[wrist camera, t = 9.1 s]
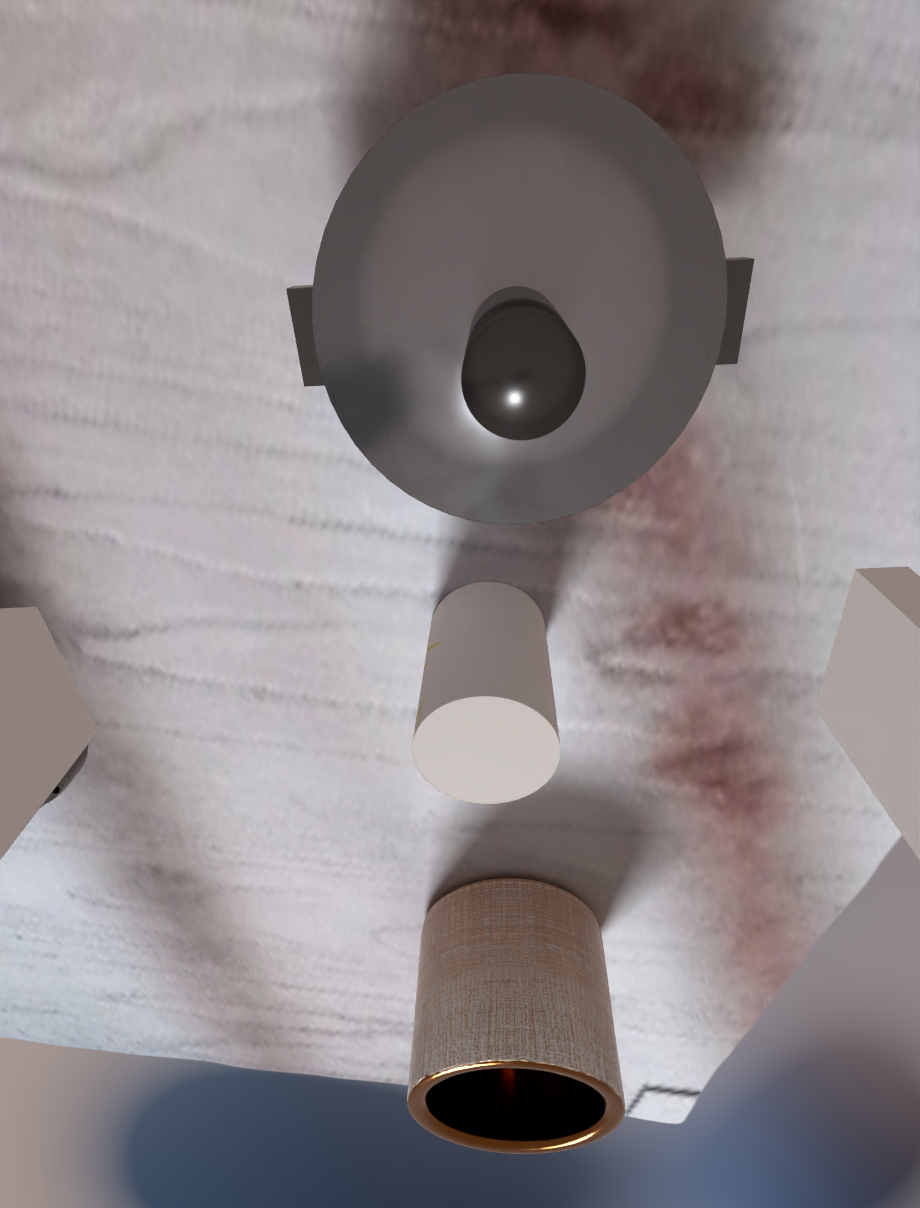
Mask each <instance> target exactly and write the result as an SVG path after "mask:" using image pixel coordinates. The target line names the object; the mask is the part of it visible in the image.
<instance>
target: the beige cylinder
mask: <svg viewBox="0 0 920 1208" xmlns="http://www.w3.org/2000/svg"><path fill="white" fill-rule="evenodd" d="M412 753H413V759H414V762H415V765H416V767H417V769H418V771H419V772H420V774H421V775H422V776H423V778H424V779H425V780H426V781H427V782H428V783H429V784H430V785H432V786H433V787H434V788H436V789H437V790H439V791H440V792H442V793H444V794H446V795H448V796H450V797H453V798H455V799H458V800H462V801H466V802H471V803H478V804H498V803H505V802H510V801H514V800H518V799H520V798H523V797H526V796H528V795H530V794H532V793H533V792H535V791H537V790H538V789H540V788H541V787H542V786H543V785H544V784H546V783H547V782H548V780H549V779H550V778H551V777H552V776H553V774H554V772H555V771H556V769H557V766H558V764H559V760H560V741H559V733H558V726H557V718H556V710H555V702H554V694H553V686H552V678H551V670H550V662H549V654H548V646H547V638H546V630H545V623H544V618H543V615H542V613H541V611H540V609H539V607H538V606H537V604H536V603H535V602H534V601H533V599H532V598H531V597H529V596H528V595H527V594H526V593H524V592H523V591H521V590H520V589H518V588H516V587H513V586H511V585H508V584H504V583H500V582H491V581H484V582H475V583H471V584H467V585H464V586H462V587H460V588H457V589H456V590H454V591H452V592H451V593H449V594H448V595H447V596H446V597H445V598H444V599H443V600H442V601H441V602H440V603H439V605H438V606H437V608H436V610H435V612H434V614H433V617H432V621H431V627H430V634H429V640H428V647H427V653H426V660H425V666H424V673H423V679H422V686H421V692H420V699H419V705H418V711H417V718H416V724H415V731H414V737H413V744H412Z"/></svg>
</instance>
